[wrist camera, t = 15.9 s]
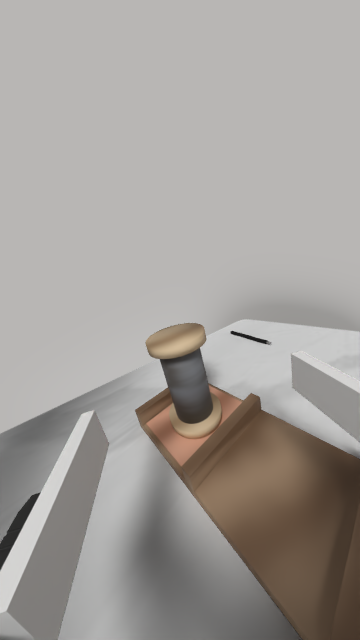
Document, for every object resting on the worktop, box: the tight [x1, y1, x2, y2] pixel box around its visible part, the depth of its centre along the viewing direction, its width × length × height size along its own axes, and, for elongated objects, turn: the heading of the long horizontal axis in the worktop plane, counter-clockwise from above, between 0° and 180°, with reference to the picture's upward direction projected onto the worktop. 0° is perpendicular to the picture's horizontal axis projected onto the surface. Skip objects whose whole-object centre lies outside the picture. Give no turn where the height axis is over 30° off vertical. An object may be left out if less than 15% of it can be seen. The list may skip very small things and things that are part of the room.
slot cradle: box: [135, 383, 360, 640], centre depth 19 cm, size 23×12×3 cm, turn 38°
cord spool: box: [146, 323, 223, 439], centre depth 22 cm, size 7×7×12 cm
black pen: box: [231, 331, 271, 345], centre depth 44 cm, size 12×1×1 cm, turn 28°
